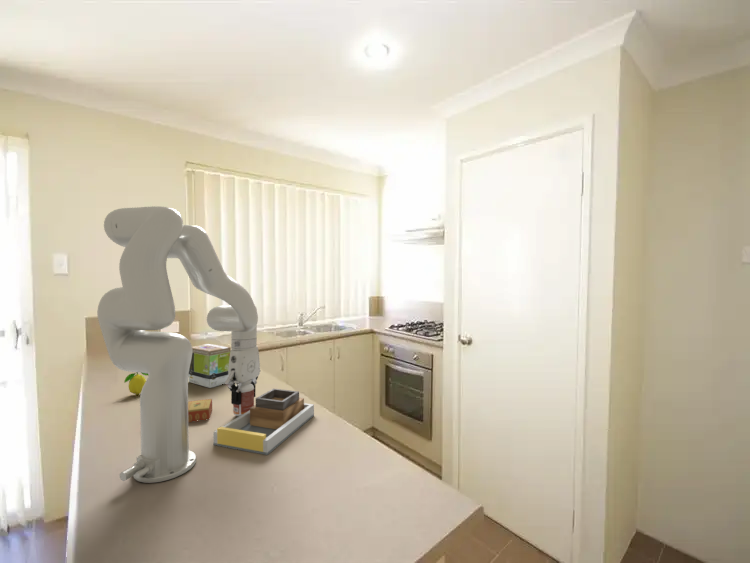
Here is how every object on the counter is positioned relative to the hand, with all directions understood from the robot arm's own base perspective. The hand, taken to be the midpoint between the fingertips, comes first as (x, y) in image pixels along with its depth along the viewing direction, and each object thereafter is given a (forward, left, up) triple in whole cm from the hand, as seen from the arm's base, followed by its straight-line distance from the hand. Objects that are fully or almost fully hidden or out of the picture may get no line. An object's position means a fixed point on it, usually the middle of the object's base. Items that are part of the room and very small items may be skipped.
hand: (243, 399), depth 111 cm
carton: (-7, +17, -6) cm, 19 cm away
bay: (-6, -13, -5) cm, 15 cm away
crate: (-1, -13, -4) cm, 14 cm away
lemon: (+4, +49, -5) cm, 50 cm away
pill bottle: (0, 0, -4) cm, 4 cm away
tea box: (+24, +35, -5) cm, 43 cm away
